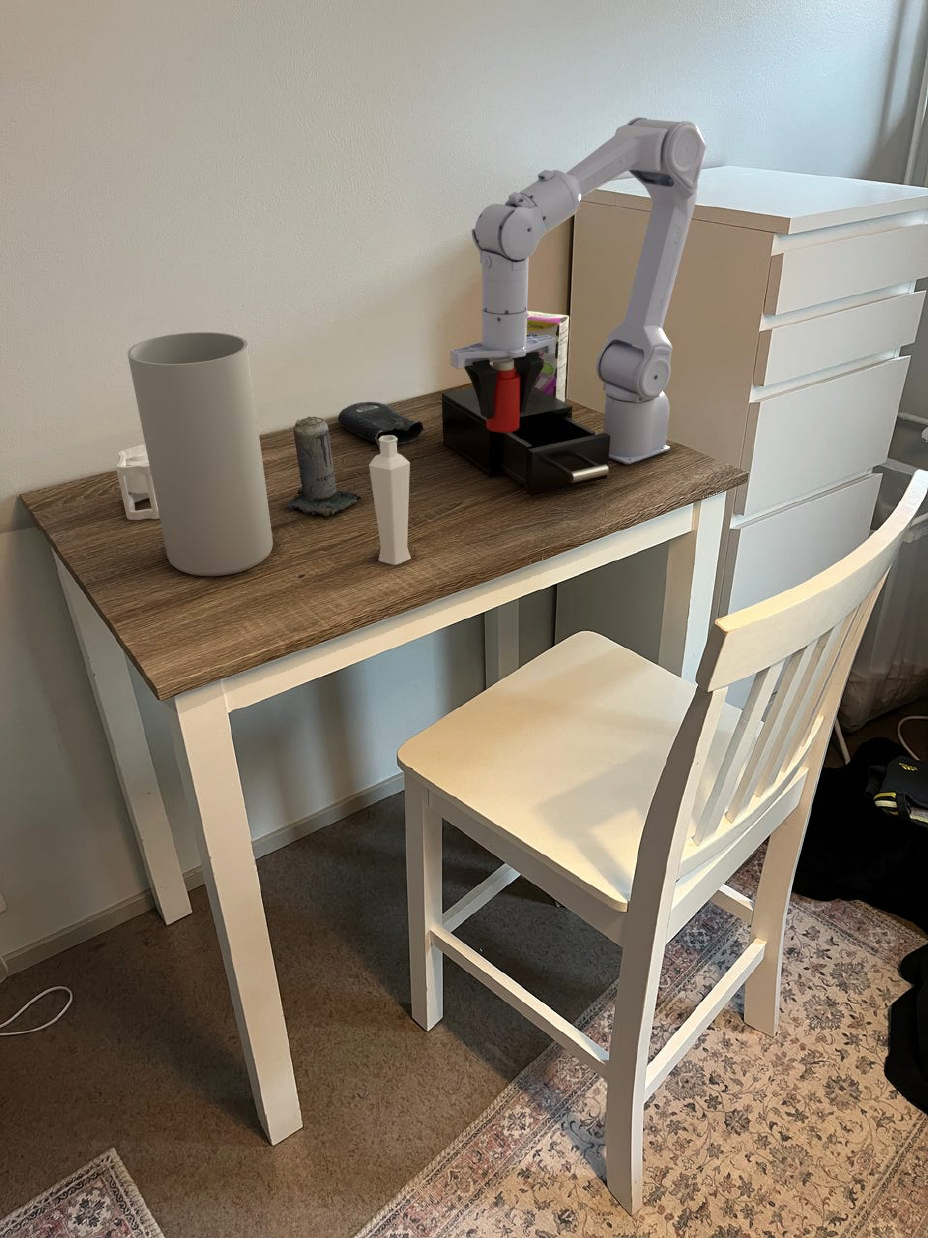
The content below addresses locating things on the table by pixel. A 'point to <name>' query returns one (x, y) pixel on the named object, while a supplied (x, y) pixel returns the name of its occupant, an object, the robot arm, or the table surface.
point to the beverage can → (317, 470)
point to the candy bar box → (554, 363)
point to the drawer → (552, 454)
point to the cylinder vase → (203, 450)
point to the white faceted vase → (391, 500)
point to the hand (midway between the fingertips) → (502, 413)
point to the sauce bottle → (505, 398)
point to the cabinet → (469, 426)
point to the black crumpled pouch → (379, 422)
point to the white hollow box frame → (136, 482)
